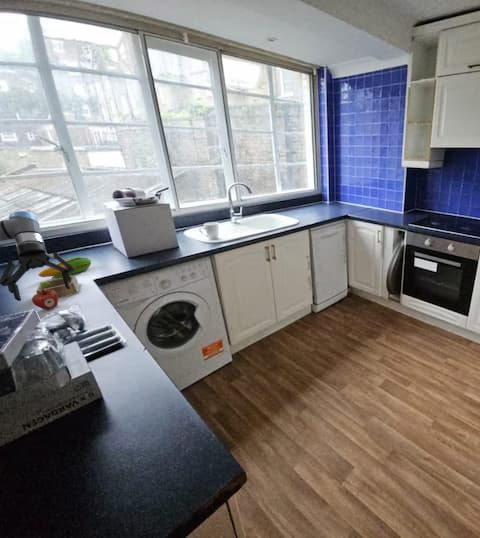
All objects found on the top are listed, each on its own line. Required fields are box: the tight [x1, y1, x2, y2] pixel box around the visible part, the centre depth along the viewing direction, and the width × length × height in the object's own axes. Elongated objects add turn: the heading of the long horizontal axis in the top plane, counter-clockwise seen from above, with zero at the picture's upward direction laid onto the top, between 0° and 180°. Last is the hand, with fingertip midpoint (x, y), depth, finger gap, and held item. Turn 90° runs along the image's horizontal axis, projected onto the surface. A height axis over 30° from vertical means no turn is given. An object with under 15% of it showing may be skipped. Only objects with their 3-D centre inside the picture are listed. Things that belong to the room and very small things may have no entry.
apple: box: [31, 281, 59, 311], centre depth 112 cm, size 8×7×10 cm
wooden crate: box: [35, 274, 80, 299], centre depth 125 cm, size 11×11×5 cm
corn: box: [38, 256, 92, 279], centre depth 143 cm, size 7×8×20 cm
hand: (43, 293), depth 111 cm, fingers open, 13 cm apart
